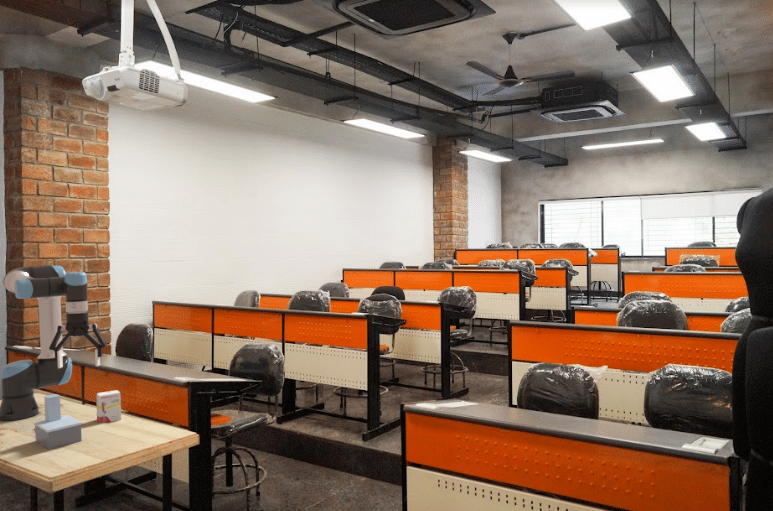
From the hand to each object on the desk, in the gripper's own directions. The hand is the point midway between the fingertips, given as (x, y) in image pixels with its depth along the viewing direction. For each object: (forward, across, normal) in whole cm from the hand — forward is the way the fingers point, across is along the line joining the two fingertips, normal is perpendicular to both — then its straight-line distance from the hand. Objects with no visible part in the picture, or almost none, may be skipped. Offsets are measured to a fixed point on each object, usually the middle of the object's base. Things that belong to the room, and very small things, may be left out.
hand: (79, 366), depth 221 cm
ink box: (+27, +5, +15) cm, 31 cm away
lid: (+21, -5, -9) cm, 23 cm away
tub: (+26, -5, -9) cm, 28 cm away
